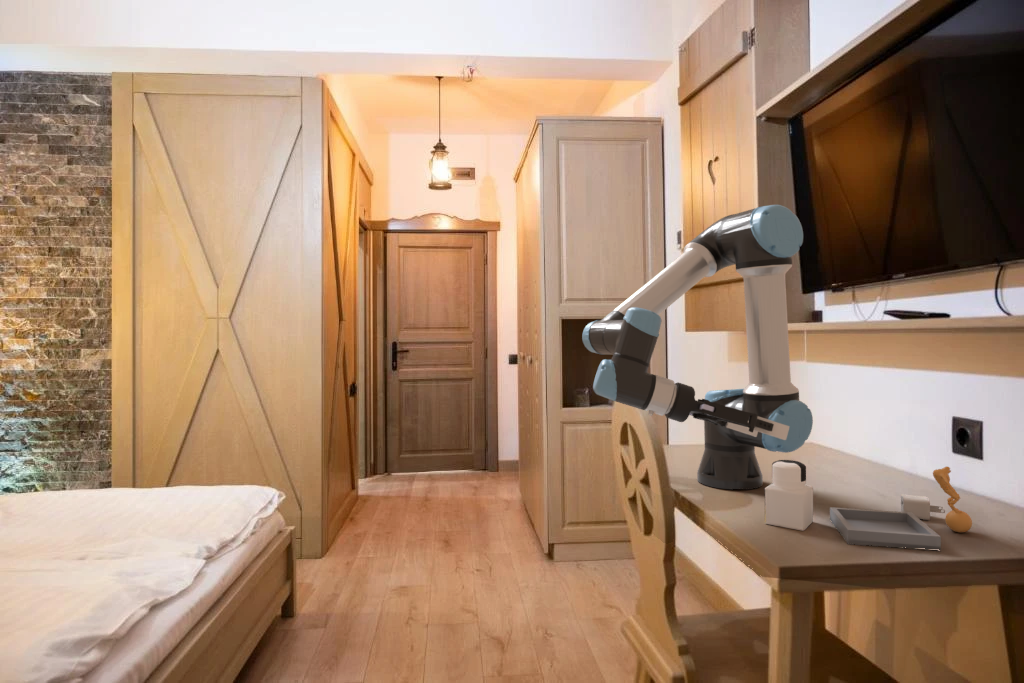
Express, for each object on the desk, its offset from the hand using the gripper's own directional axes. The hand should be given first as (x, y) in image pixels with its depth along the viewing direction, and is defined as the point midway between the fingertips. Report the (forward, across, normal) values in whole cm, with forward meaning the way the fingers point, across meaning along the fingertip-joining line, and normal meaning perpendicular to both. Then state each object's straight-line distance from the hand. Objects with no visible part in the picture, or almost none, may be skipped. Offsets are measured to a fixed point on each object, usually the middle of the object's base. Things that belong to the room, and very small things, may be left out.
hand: (771, 431), depth 121 cm
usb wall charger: (+33, -1, -7) cm, 34 cm away
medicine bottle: (+7, +2, -16) cm, 18 cm away
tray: (+20, +9, -13) cm, 25 cm away
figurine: (+33, +8, -8) cm, 35 cm away
